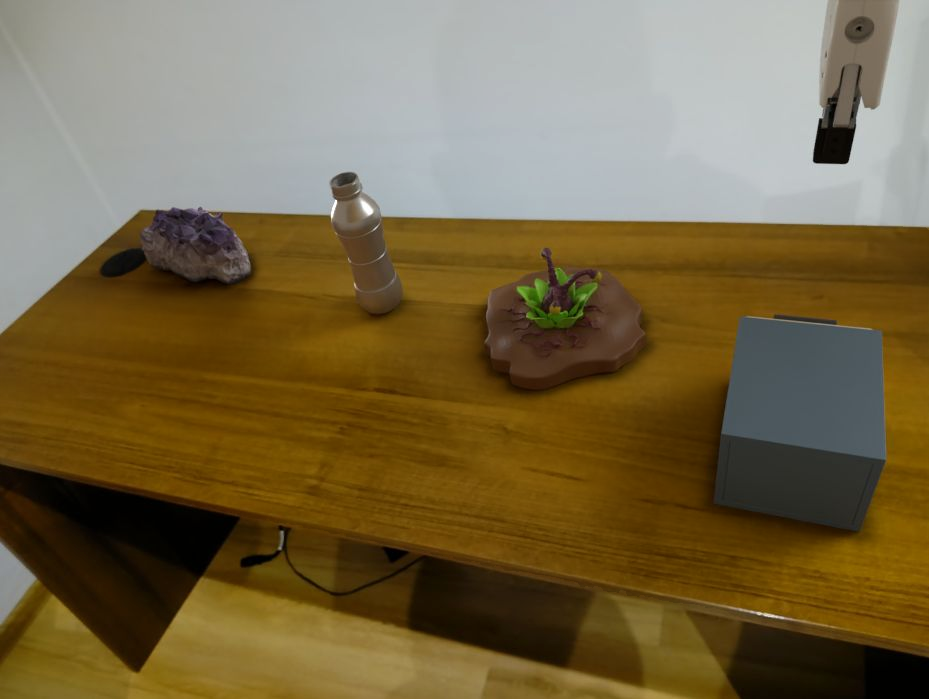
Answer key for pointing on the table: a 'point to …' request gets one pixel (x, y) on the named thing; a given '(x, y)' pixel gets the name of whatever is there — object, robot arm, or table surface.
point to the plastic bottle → (364, 245)
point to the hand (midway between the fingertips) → (830, 159)
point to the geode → (195, 246)
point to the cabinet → (803, 422)
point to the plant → (562, 326)
